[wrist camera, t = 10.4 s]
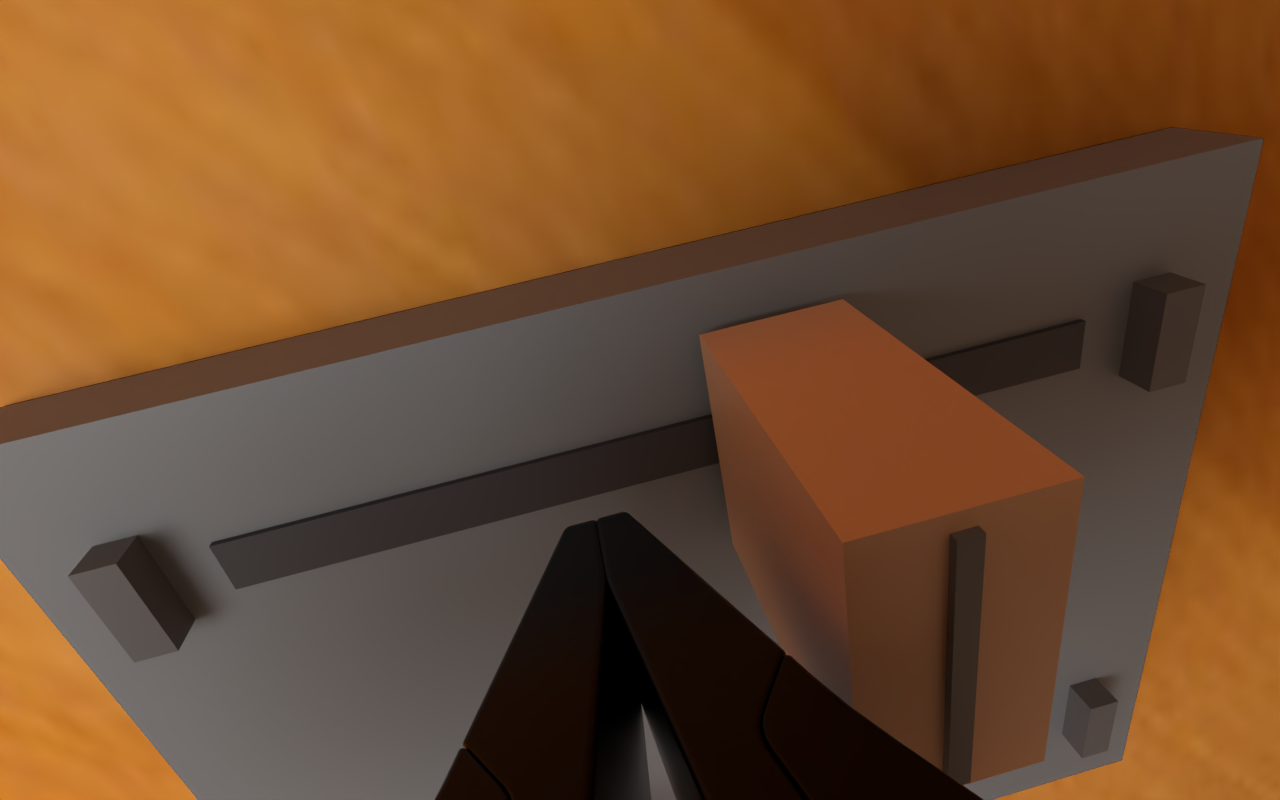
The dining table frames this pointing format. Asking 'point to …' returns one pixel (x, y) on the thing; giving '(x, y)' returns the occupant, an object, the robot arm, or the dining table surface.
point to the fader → (896, 533)
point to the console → (600, 462)
